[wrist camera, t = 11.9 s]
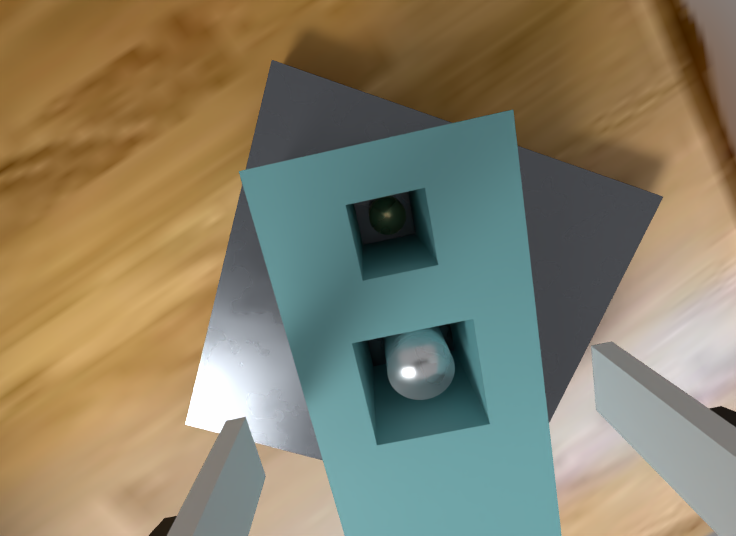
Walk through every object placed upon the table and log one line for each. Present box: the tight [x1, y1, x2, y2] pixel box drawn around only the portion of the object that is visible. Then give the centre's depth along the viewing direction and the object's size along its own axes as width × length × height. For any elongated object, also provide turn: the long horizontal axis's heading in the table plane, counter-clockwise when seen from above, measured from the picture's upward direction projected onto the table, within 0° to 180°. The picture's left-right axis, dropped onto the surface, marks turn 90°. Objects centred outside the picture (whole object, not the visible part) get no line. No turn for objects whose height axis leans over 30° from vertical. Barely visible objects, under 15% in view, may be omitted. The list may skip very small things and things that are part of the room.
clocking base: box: [186, 60, 663, 460], centre depth 21 cm, size 22×22×8 cm
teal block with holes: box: [239, 110, 561, 536], centre depth 20 cm, size 20×10×7 cm, turn 12°
